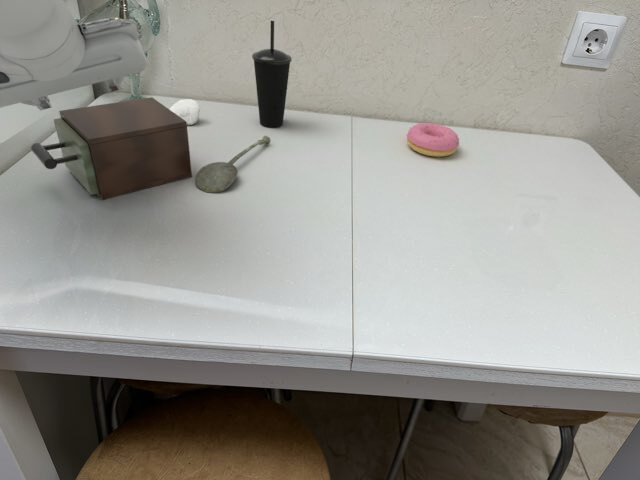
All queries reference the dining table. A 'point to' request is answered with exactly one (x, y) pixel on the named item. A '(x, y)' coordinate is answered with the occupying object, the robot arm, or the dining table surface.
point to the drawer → (70, 155)
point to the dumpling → (187, 110)
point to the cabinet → (132, 144)
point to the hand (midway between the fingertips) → (80, 94)
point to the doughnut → (432, 139)
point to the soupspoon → (222, 171)
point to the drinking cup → (271, 83)
